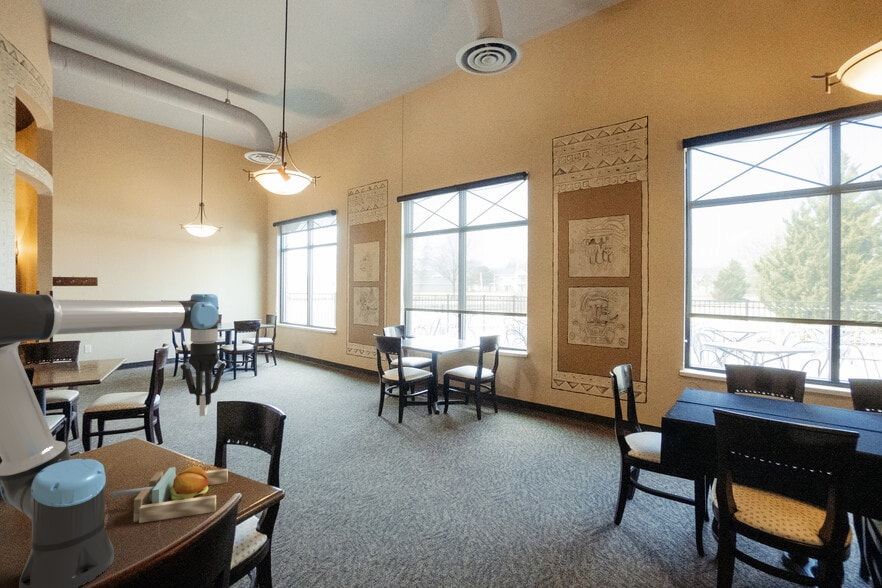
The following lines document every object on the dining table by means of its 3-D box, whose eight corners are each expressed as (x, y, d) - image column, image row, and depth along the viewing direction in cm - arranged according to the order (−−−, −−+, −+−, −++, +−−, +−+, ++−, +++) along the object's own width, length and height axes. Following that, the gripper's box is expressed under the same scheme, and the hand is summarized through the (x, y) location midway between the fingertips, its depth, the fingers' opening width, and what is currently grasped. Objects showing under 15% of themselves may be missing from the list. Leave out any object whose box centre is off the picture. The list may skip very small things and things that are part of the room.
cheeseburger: (202, 484, 126) (205, 456, 124) (213, 504, 119) (216, 475, 117) (164, 495, 118) (167, 466, 117) (174, 518, 111) (177, 487, 110)
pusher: (175, 489, 122) (175, 467, 122) (158, 514, 108) (159, 489, 108) (122, 496, 118) (122, 473, 117) (97, 523, 104) (98, 497, 104)
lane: (227, 480, 129) (228, 462, 129) (214, 511, 111) (215, 490, 111) (157, 489, 123) (158, 470, 123) (132, 524, 104) (132, 501, 104)
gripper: (229, 340, 131) (228, 410, 131) (185, 340, 127) (184, 412, 127) (223, 343, 123) (222, 417, 124) (176, 343, 120) (175, 420, 120)
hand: (203, 414), depth 125 cm, fingers closed
